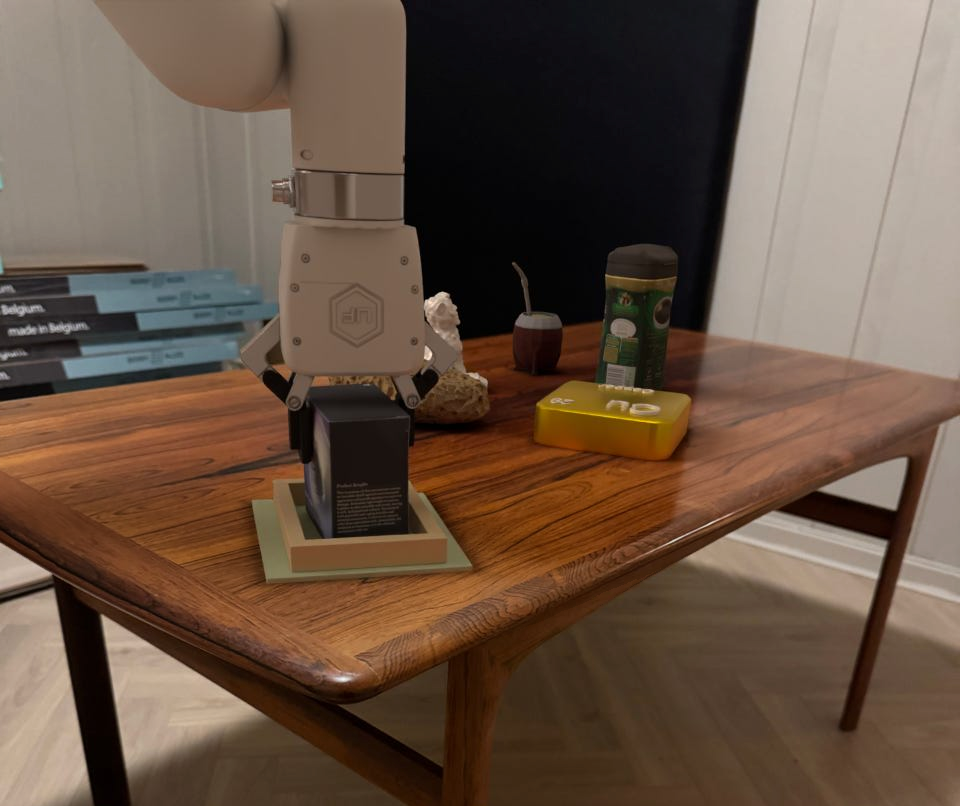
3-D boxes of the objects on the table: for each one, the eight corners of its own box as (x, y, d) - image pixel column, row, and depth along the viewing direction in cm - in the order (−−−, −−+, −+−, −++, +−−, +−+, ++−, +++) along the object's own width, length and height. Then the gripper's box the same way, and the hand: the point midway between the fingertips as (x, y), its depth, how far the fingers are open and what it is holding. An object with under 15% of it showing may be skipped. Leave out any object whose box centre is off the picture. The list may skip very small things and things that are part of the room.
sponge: (317, 415, 114) (400, 419, 98) (320, 348, 113) (405, 340, 97) (411, 424, 122) (502, 429, 106) (416, 361, 120) (509, 357, 104)
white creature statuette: (491, 395, 123) (496, 297, 117) (430, 399, 119) (432, 298, 114) (461, 379, 130) (464, 286, 125) (402, 382, 127) (403, 287, 121)
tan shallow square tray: (267, 586, 67) (265, 552, 66) (251, 506, 81) (250, 477, 80) (472, 573, 71) (474, 540, 70) (423, 498, 85) (423, 470, 84)
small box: (299, 511, 79) (295, 383, 74) (376, 505, 81) (376, 381, 77) (327, 558, 70) (324, 417, 66) (412, 550, 73) (414, 413, 68)
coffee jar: (618, 383, 133) (635, 239, 125) (670, 392, 129) (690, 245, 121) (583, 393, 126) (598, 242, 118) (637, 404, 122) (656, 248, 114)
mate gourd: (560, 369, 140) (569, 260, 133) (558, 380, 133) (568, 265, 126) (509, 365, 140) (516, 256, 133) (505, 377, 133) (512, 262, 126)
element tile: (688, 431, 111) (695, 390, 109) (666, 465, 98) (673, 418, 96) (564, 415, 115) (568, 374, 113) (528, 445, 103) (531, 400, 100)
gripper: (219, 200, 60) (238, 476, 68) (486, 210, 64) (473, 468, 72) (216, 193, 66) (234, 446, 74) (458, 203, 70) (450, 441, 79)
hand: (352, 455), depth 73 cm, fingers closed on small box, 6 cm apart
